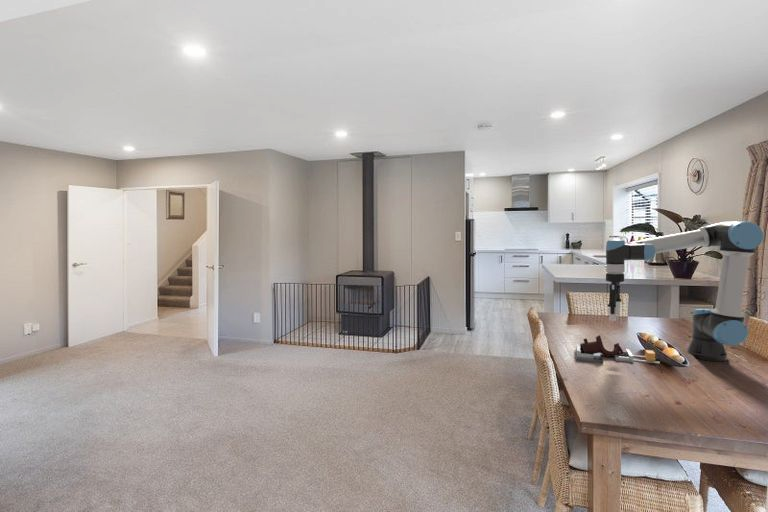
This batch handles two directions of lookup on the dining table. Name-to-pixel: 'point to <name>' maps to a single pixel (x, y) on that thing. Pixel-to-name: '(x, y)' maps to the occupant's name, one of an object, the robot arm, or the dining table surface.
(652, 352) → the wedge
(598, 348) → the dark brown irregular piece
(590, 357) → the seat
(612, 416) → the dining table surface
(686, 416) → the dining table surface
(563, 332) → the dining table surface
